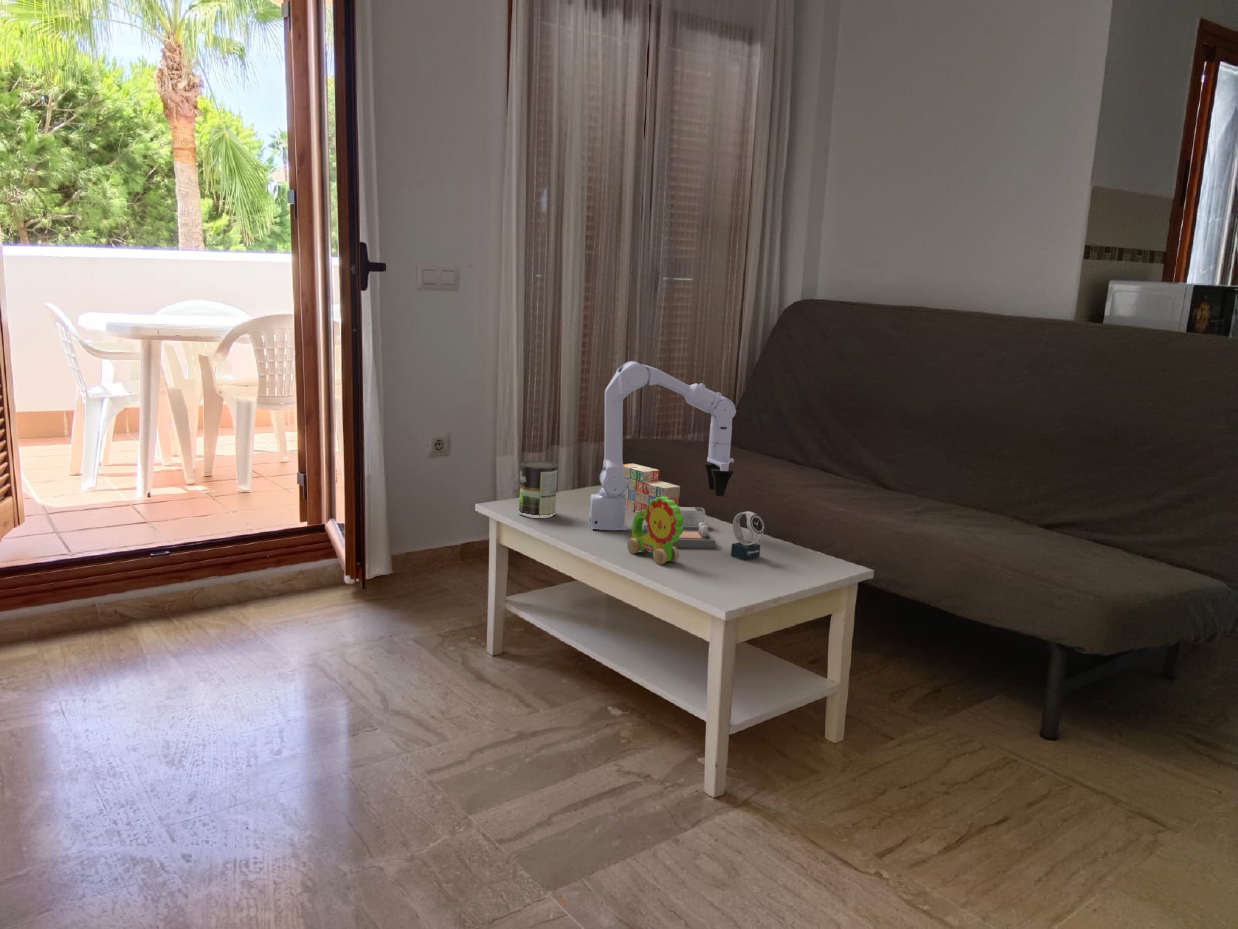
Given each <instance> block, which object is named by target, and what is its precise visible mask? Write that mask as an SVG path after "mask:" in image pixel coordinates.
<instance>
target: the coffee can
mask: <svg viewBox="0 0 1238 929" xmlns="http://www.w3.org/2000/svg"><path fill="white" fill-rule="evenodd" d="M519 467H520V470H519V471H520V473H519V476H520V477H519V501H518V502H519V504H518V505H519V506H518V512H519V511H520V512H521V513H526V514H531V515H539V516H540V515H550V514H553V513H555V514H556V505H557V504H556V501H557V483H558V482H557V481H558V479H557V478H558V469H559V468H558V467H559V465H558V463H556V462H552V461H544V460H528V461H522V462H520V463H519Z"/></svg>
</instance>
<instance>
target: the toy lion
mask: <svg viewBox="0 0 1238 929" xmlns="http://www.w3.org/2000/svg"><path fill="white" fill-rule="evenodd" d="M679 507H680V506H679V505H678V506H676V504H675V502H674V501H673V500H669V498H668V497H658V498H657V499H653V500H652V501H651V502H650V504H649V505H648V506H647V508H646V510H643V511H640V512H636V514H635V515H634V518H633V521H632V524H631V525H632V526H631V527H632V528H631V538H629V539H628V540H627V543H626V548H627V550H628V552H629V554H632V555H633V554H638V553H639V552H640V551H641V552H645V553H646V552H651V553H653V554H652V559H653V561H654V562H655V564H657V565H659V566H660V565H664V564H666V562H669V563H673V562H677V561H678V560H679V558H680V555H679V554H680V553H679V550H678V548H676V547H674V546H673V542H677V541H678V539H679V536H680V535H681V534H682V532H683V527H682V525H683V516H682V515H681V511H680V508H679ZM644 521H645V522H646V524H647V525H648V533H647V534H645V535H644V533H643V526H644V524H643V523H644Z"/></svg>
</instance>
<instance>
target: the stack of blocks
mask: <svg viewBox="0 0 1238 929" xmlns="http://www.w3.org/2000/svg"><path fill="white" fill-rule="evenodd" d="M660 471H661V470H659V469H657V468H652V467H649V466H644V465H640V464H636V463H625V464H624V463H623V473H624V476H625V478H626V481H627V488H626V490H625V491H624V492H626V504H625V506H626V507H629V508H631V509H633V510H638V511H643V510H646V508H647V506H648V505H649V504H650V502H651V501H652V500H653V499H657V498H658V497H668V498H669V500H673V501H674V502H675V504H676V506H678V507H679V505H680V503H679V501H680V492H681V491H680V490H681V486H680V485H677V484H674V483H669V482H665V481H662V480H660Z"/></svg>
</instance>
